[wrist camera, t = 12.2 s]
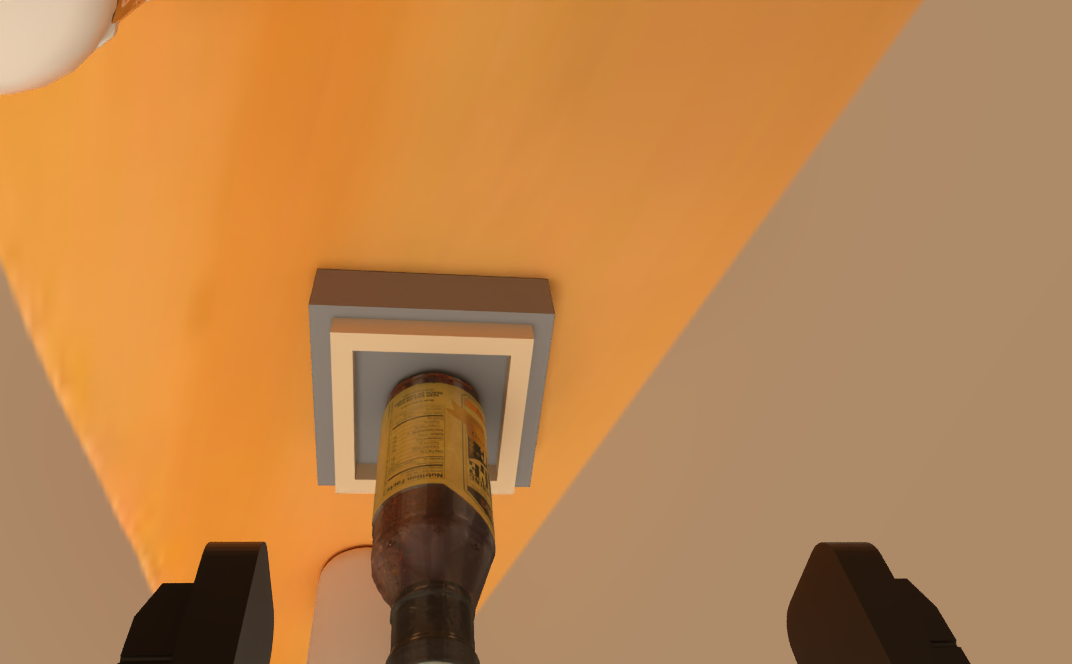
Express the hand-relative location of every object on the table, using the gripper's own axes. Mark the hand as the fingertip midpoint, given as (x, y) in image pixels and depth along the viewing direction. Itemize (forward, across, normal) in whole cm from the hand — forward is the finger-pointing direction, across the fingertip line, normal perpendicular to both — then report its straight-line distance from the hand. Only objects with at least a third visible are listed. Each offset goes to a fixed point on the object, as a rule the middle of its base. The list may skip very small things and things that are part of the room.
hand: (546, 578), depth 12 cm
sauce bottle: (+32, +1, +23) cm, 40 cm away
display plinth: (+36, +1, +23) cm, 43 cm away
